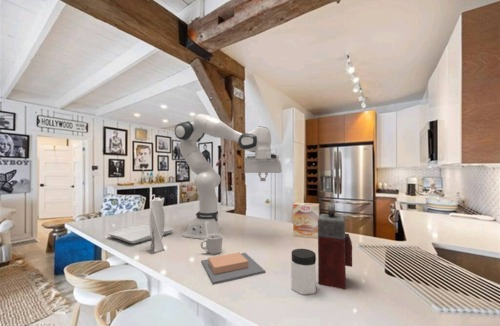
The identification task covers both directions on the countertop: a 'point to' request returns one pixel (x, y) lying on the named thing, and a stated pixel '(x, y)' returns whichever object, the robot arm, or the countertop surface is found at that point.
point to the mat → (234, 271)
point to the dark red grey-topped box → (333, 249)
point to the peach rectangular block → (227, 263)
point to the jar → (303, 271)
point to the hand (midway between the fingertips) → (263, 181)
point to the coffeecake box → (305, 220)
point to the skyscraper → (156, 225)
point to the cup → (213, 243)
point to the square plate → (136, 233)
